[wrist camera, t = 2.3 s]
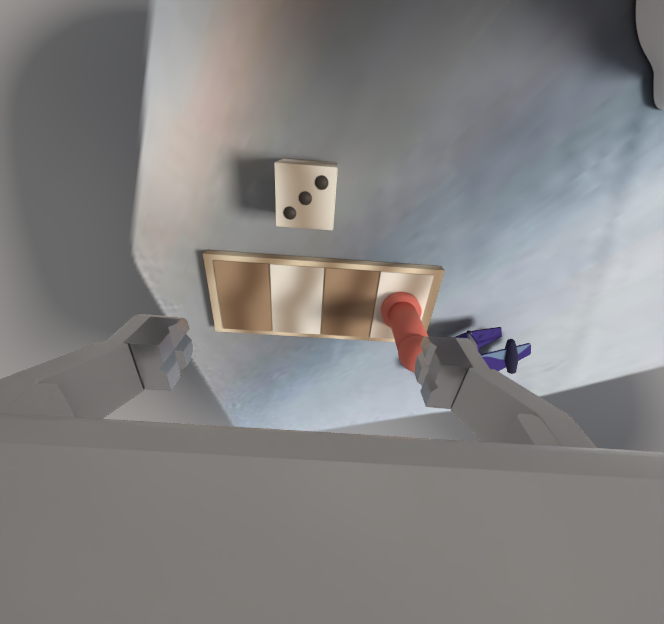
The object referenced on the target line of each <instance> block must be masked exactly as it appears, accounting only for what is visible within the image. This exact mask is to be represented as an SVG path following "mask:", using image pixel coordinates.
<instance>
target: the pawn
mask: <svg viewBox="0 0 664 624" xmlns="http://www.w3.org/2000/svg"><path fill="white" fill-rule="evenodd" d="M421 313H422V309H421V306H420V304H419V302H418V300H417V298H416V297H415V296H414V295H412V294H410V293H408V292H396V293H393V294H391V295H390V296H388V297H387V298H386V299H385V300H384V302H383V303H382V306H381V314H382V318H383V321H384V323H385V324H386V325H387V326H388V327H390V328H391V329H392V333H393V336H394V339H395V343H396V346H397V349H398V356H399V360H400V362H401V363H402V365H403V366H404V367H405V368H406V369H408V370H410V371H412V372H415V362H416V358H417V355H419V354H420V353H421V352H422V349H421V346H420V345H421V342H422V339H423V338H424V336H428V334H427V332H426V330H425V327H424V325H423V323H422V321H421V319H420V317H421Z"/></svg>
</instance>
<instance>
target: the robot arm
mask: <svg viewBox="0 0 664 624" xmlns="http://www.w3.org/2000/svg"><path fill="white" fill-rule="evenodd" d="M636 26H637V32H638V37H639V41H640V44H641V46H642V49H643V51H644V53H645V54H646V56H647V58H648V60H649V62H650V63H651V66H652V68H653V72H654V102H655V105H656V106H657V108H659V109H662V110H664V0H636ZM188 330H189V326H188V322H187V320H186V319H185V318H178V317H167V316H156V315H155V316H153V315H144V314H139V315H135V316H134V317H132V318H131V319H130V320H129V321H128V322H127V323H126V324H125V325H123V326H122V327H121V328H120V329H119V330H118V331H117V332H116V333H115V334H113V335H112V336H111V337H110V338H109V339H108V340H107V341H105V342H98V343H95V344H92V345H90V346H87V347H85V348H82V349H80V350H76V351H74V352H71V353H68V354H66V355H63V356H61V357H58V358H55V359H53V360H50V361H47V362H45V363H42V364H40V365H37V366H34V367H31V368H29V369H26V370H23V371H21V372H18V373H15V374H13V375H10V376H7V377H5V378H2V379H0V624H664V452H648V451H632V450H615V449H598V448H596V446H595V445H594V444H593V443H592V442H591V441H590V439H589V438H588V437H587V436H586V435H585V433H584V432H583V431H582V430H581V429H580V427H579V426H578V425H577V424H576V423H575V422H574V420H573V419H572V418H571V417H570V416H569V415H567V414H566V413H564V412H563V411H561V410H559V409H558V408H556V407H555V406H553V405H551V404H550V403H548V402H546V401H545V400H543V399H542V398H540V397H538V396H537V395H535V394H534V393H532V392H530V391H529V390H527V389H525V388H524V387H522V386H521V385H519V384H517V383H516V382H514V381H513V380H511V379H509V378H508V377H506V376H504V375H503V374H501V373H500V372H498V371H496V370H495V369H490V368H489V367H488V365H487V364H486V362H485V361H484V359H483V358H482V356H481V355H480V353H479V352H478V350H477V349H476V348H475V346H474V345H473V343H472V342H471V340H469V339H468V338H446V337H429V336H424V338H423V339H422V342H421V345H420V346H421V349H422V352H421V353H420V354H419V355H417V358H416V362H415V376H416V379H417V382H418V383H419V384H421V385H422V389H421V394H422V397H423V400H424V403H425V405H426V407H434V408H445V409H451V411H452V412H453V413H454V414H455V415H456V416H457V417H458V418H459V419H460V420H461V421H462V422H463V423H464V424H465V425H466V426H467V427H468V428H469V429H470V430H471V431H472V432H473V433H474V434H475V435H476V436H477V437H478V438H479V439H480V440H481V441H482V442H481V441H464V440H445V439H428V438H412V437H411V438H410V437H396V436H379V435H361V434H346V433H331V432H314V431H297V430H280V429H263V428H245V427H228V426H212V425H195V424H177V423H161V422H144V421H126V420H109V419H103V418H104V417H106V416H107V415H109V414H110V413H112V412H113V411H114V410H116V409H118V408H119V407H120V406H122V405H123V404H125V403H126V402H128V401H129V400H131V399H132V398H134V397H135V396H137V395H138V394H140V393H141V392H142V391H144V390H143V389H148V390H172V388H173V387H174V385H175V383H176V382H177V381H178V379H179V377H180V376H181V375H180V371H179V370H181V369H183V368H184V367H186V366H187V365H188V363H189V362H190V360H191V356H192V352H193V345H192V340H191V339H190V338H189V337H188V336H187V335H186V333H187V332H188Z"/></svg>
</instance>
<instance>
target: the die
mask: <svg viewBox="0 0 664 624" xmlns="http://www.w3.org/2000/svg"><path fill="white" fill-rule="evenodd" d="M337 169H338V167H337V163H336V162H323V161H311V160H298V159H286V158H283V159H281V160H279V161H277V162H275V196H276V226H282V227H296V228H310V229H323V230H333V223H334V210H335V196H336V183H337Z"/></svg>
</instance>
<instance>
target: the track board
mask: <svg viewBox="0 0 664 624" xmlns="http://www.w3.org/2000/svg"><path fill="white" fill-rule="evenodd" d="M203 258H204V264H205V270H206V276H207V282H208V288H209V294H210V300H211V306H212V313H213V319H214V325H215V331H221V332H238V333H254V334H271V335H287V336H304V337H320V338H337V339H354V340H370V341H387V342H395V339H394V336H393V333H392V329H391V328H390V327H388V326H387V325H386V324H385V323H384V321H383V318H382V314H381V306H382V303H383V302H384V300H385V299H386V298H387V297H388V296H390V295H391V294H393V293H396V292H408V293H410V294H412V295H414V296H415V297H416V298H417V300H418V302H419V304H420V306H421V309H422V313H421V317H420V319H421V321H422V323H423V325H424V327H425V330H426V332H427V329H428V326H429V323H430V319H431V316H432V312H433V309H434V305H435V302H436V299H437V295H438V292H439V288H440V285H441V282H442V278H443V275H444V271H445V270H444V269H443V268H442V267H441V266H431V265H416V264H402V263H388V262H373V261H359V260H344V259H330V258H316V257H301V256H287V255H272V254H258V253H244V252H229V251H215V250H206V251H205V252H204V253H203Z"/></svg>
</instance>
